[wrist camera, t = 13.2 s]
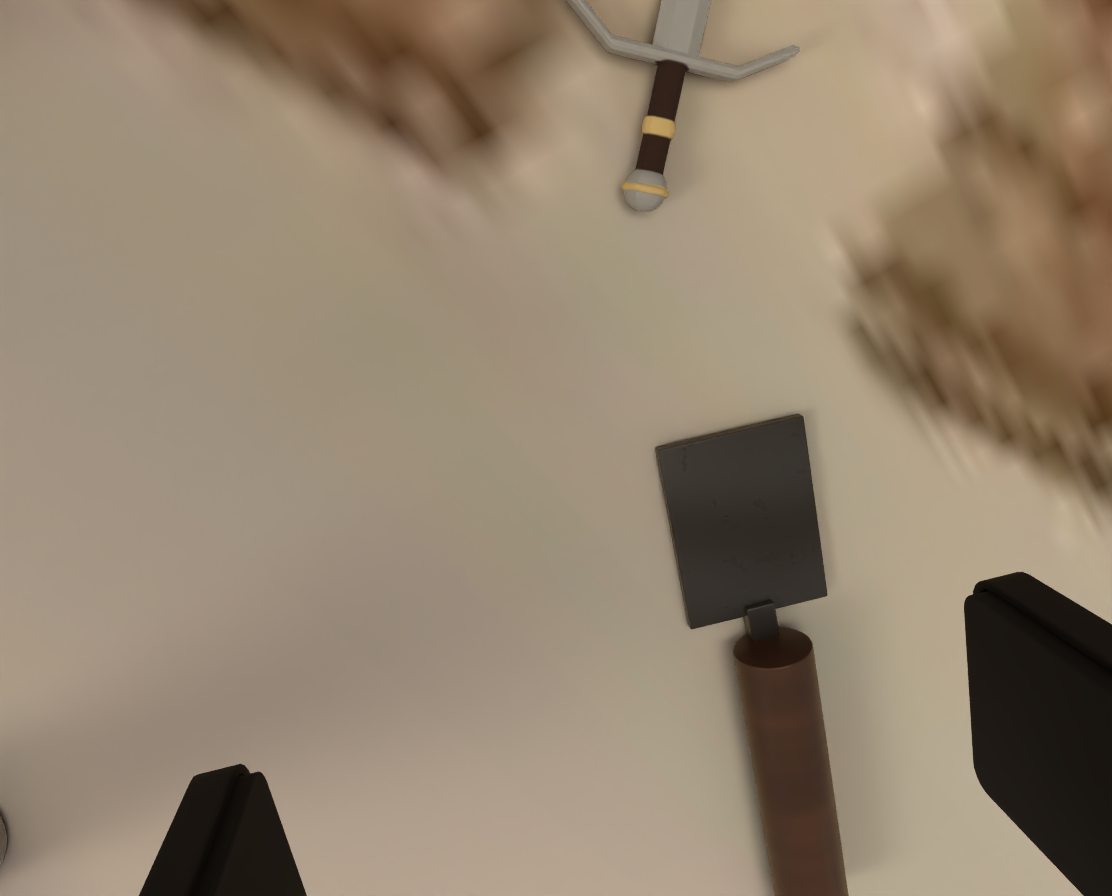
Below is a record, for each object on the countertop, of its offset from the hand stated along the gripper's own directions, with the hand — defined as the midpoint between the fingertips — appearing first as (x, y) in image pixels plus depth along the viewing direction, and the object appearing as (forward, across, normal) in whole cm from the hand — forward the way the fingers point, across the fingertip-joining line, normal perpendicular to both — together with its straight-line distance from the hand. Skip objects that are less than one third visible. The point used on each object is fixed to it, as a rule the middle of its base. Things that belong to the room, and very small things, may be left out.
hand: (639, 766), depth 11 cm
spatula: (+22, -8, +15) cm, 28 cm away
